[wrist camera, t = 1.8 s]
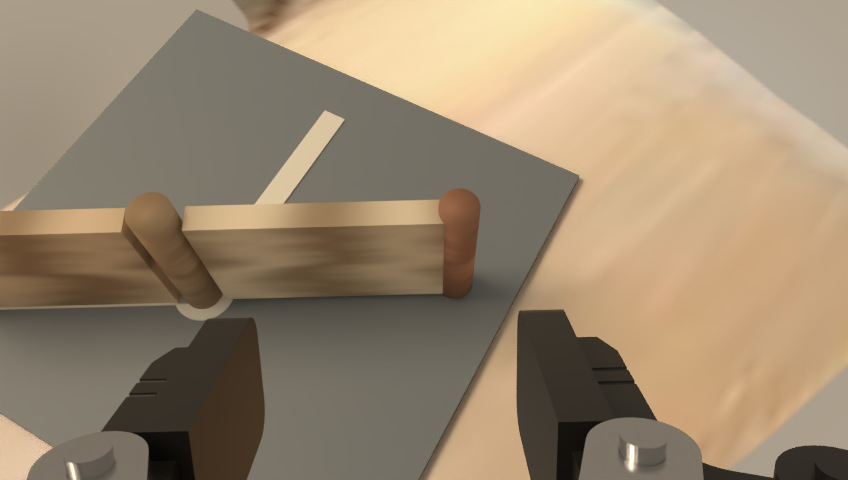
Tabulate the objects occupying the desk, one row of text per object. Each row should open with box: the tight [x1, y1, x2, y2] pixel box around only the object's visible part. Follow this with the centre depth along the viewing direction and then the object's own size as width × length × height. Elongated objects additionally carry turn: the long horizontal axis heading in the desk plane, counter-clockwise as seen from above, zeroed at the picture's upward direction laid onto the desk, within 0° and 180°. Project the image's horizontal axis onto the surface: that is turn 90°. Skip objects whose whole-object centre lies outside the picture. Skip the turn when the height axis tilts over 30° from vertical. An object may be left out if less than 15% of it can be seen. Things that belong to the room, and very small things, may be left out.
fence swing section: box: [182, 188, 481, 299], centre depth 35 cm, size 13×2×8 cm, turn 91°
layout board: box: [0, 10, 579, 480], centre depth 40 cm, size 26×27×1 cm
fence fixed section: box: [0, 192, 223, 309], centre depth 35 cm, size 14×2×9 cm, turn 91°
